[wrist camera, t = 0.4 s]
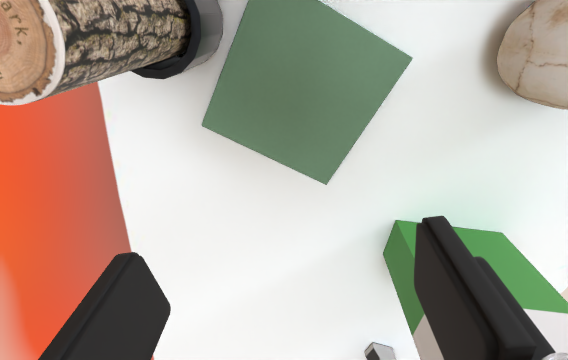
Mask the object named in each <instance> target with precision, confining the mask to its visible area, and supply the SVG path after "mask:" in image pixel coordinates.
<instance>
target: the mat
mask: <svg viewBox="0 0 568 360" xmlns="http://www.w3.org/2000/svg"><path fill="white" fill-rule="evenodd" d="M412 59H413V58H412V57H410V56H409V55H407V54H405V53H404V52H402V51H400V50H399V49H397V48H395V47H394V46H392V45H391V44H389V43H387V42H386V41H384V40H382V39H381V38H379V37H377V36H376V35H374V34H373V33H371V32H369V31H368V30H366V29H364V28H363V27H361V26H359V25H358V24H356V23H355V22H353V21H351V20H350V19H348V18H346V17H345V16H343V15H341V14H340V13H338V12H336V11H335V10H333V9H332V8H330V7H328V6H327V5H325V4H323V3H322V2H320V1H318V0H249V1H248V4H247V6H246V9H245V12H244V14H243V17H242V20H241V22H240V25H239V27H238V30H237V33H236V35H235V38H234V41H233V43H232V46H231V49H230V51H229V54H228V57H227V59H226V62H225V64H224V67H223V70H222V72H221V75H220V78H219V80H218V83H217V86H216V88H215V91H214V93H213V96H212V99H211V101H210V104H209V107H208V109H207V112H206V115H205V117H204V120H203V123H202V126H203V127H205V128H208V129H210V130H212V131H214V132H216V133H218V134H220V135H222V136H224V137H227V138H229V139H231V140H233V141H235V142H237V143H239V144H241V145H243V146H246V147H248V148H250V149H252V150H254V151H256V152H258V153H260V154H262V155H265V156H267V157H269V158H271V159H273V160H275V161H277V162H279V163H281V164H283V165H286V166H288V167H290V168H292V169H294V170H296V171H298V172H300V173H302V174H305V175H307V176H309V177H311V178H313V179H315V180H317V181H319V182H321V183H324V184H326V185H327V183H328V182H329V180H330V179H331V177H332V176H333V174H334V173H335V171H336V170H337V169H338V167H339V166H340V164H341V163H342V161H343V160H344V158H345V157H346V155H347V154H348V152H349V151H350V149H351V148H352V147H353V145H354V144H355V142H356V141H357V139H358V138H359V136H360V135H361V133H362V132H363V130H364V129H365V127H366V126H367V125H368V123H369V122H370V120H371V119H372V117H373V116H374V114H375V113H376V111H377V110H378V108H379V107H380V106H381V104H382V103H383V101H384V100H385V98H386V97H387V95H388V94H389V92H390V91H391V89H392V88H393V86H394V85H395V84H396V82H397V81H398V79H399V78H400V76H401V75H402V73H403V72H404V70H405V69H406V67H407V66H408V64H409V63H410V62H411V60H412Z"/></svg>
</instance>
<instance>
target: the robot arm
mask: <svg viewBox="0 0 568 360" xmlns="http://www.w3.org/2000/svg"><path fill="white" fill-rule="evenodd" d="M414 288H415V292H416V294H417V297H418V299H419V301H420V304H421V306H422V308H423V311H424V313H425V316H426V318H427V320H428V323H429V325H430V328H431V330H432V332H433V335H434V337H435V339H436V342H437V344H438V347H439V349H440V351H441V354H442V356H443V358H444V360H568V353H562V352H560V353H556V352H555V350H554V349H553V348H552V346H551V345H550V344H549V342H548V341H547V340H546V338H545V337H544V336H543V334H542V333H541V332H540V330H539V329H538V328H537V327H536V325H535V324H534V323H533V321H532V320H531V319H530V317H529V316H528V315H527V313H526V312H525V311H524V309H523V308H522V307H521V305H520V304H519V303H518V301H517V300H516V299H515V298H514V296H513V295H512V294H511V292H510V291H509V290H508V288H507V287H506V286H505V284H504V283H503V282H502V280H501V279H500V278H499V276H498V275H497V274H496V272H495V271H494V270H493V268H492V267H491V266H490V265H489V263H488V262H487V261H486V260H485V259H484V258H482V257H481V256H476V257H473V256H472V254H471V253H470V251H469V250H468V249H467V247H466V246H465V244H464V243H463V242H462V240H461V239H460V237H459V236H458V235H457V233H456V232H455V230H454V229H453V228H452V226H451V225H450V223H449V222H448V221H447V219H446V218H445V217H444V216H436V217H428V218H423V219H422V223H418V224H417V225H416V242H415V263H414ZM170 310H171V308H170V304H169V302H168V300H167V298H166V297H165V295H164V293H163V292H162V290H161V288H160V286H159V285H158V283H157V281H156V279H155V278H154V276H153V274H152V273H151V271H150V269H149V267H148V266H147V264H146V262H145V261H144V259H143V257H142V256H139V255H138V254H137V253H135V252H131V253H123V254H118V255H116V256H115V257H114V259H113V260H112V261H111V262H110V264H109V265H108V266H107V268H106V269H105V271H104V272H103V273H102V275H101V276H100V277H99V278H98V280H97V281H96V283H95V284H94V285H93V287H92V288H91V289H90V291H89V292H88V293H87V295H86V296H85V297H84V299H83V300H82V301H81V303H80V304H79V305H78V307H77V308H76V310H75V311H74V312H73V313H72V315H71V316H70V317H69V319H68V320H67V321H66V323H65V324H64V325H63V327H62V328H61V330H60V331H59V332H58V334H57V335H56V336H55V338H54V339H53V340H52V342H51V343H50V344H49V346H48V347H47V348H46V350H45V351H44V352H43V354H42V355H41V357H40V358H39V359H38V360H151V358H152V355H153V353H154V351H155V348H156V346H157V343H158V341H159V339H160V336H161V334H162V332H163V329H164V327H165V324H166V322H167V320H168V317H169V315H170Z"/></svg>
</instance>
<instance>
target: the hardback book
mask: <svg viewBox="0 0 568 360" xmlns="http://www.w3.org/2000/svg"><path fill="white" fill-rule="evenodd" d="M417 224H418V223H416V222H407V221H399V220H396V221H395V224H394V226H393V229H392V231H391V234H390V237H389V239H388V242H387V244H386V247H385V250H384V252H383V255H384V258H385V261H386V264H387V267H388V269H389V272H390V275H391V278H392V281H393V284H394V286H395V289H396V292H397V295H398V298H399V300H400V303H401V306H402V309H403V312H404V314H405V317H406V320H407V323H408V326H409V328H410V331H411V334H412V337H413V340H414V342H415V345H416V348H417V351H418V354H419V356H420V359H421V360H444V358H443V356H442V354H441V351H440V349H439V347H438V344H437V342H436V339H435V337H434V335H433V332H432V330H431V328H430V325H429V323H428V320H427V318H426V316H425V313H424V311H423V308H422V306H421V304H420V301H419V299H418V297H417V294H416V292H415V288H414V263H415V242H416V225H417ZM452 228H453V229H454V230H455V232H456V233H457V235H458V236H459V237H460V239H461V240H462V242H463V243H464V244H465V246H466V247H467V249H468V250H469V251H470V253H471V254H472V256H473V257H476V256H481V257H482V258H484V259H485V260H486V261H487V262H488V263H489V265H490V266H491V267H492V268H493V270H494V271H495V272H496V274H497V275H498V276H499V278H500V279H501V280H502V282H503V283H504V284H505V286H506V287H507V288H508V290H509V291H510V292H511V294H512V295H513V296H514V298H515V299H516V300H517V301H518V303H519V304H520V305H521V307H522V308H523V309H524V311H525V312H526V313H527V315H528V316H529V317H530V319H531V320H532V321H533V323H534V324H535V325H536V327H537V328H538V329H539V330H540V332H541V333H542V334H543V336H544V337H545V338H546V340H547V341H548V342H549V344H550V345H551V346H552V348H553V349H554V350H555V352H556V353H560V352H562V353H568V302H567V301H566V300H565V299H563V297H562V296H561V295H560V294H559V293H558V292H557V291H556V290H555V289H554V288H553V286H552V285H551V284H550V283H549V282H548V281H547V280H546V279H545V278H544V277H543V276H542V275H541V274H540V273H539V272H538V271H537V269H536V268H535V267H534V266H533V265H532V264H531V263H530V262H529V261H528V260H527V259H526V258H525V257H524V256H523V255H522V253H521V252H520V251H519V250H518V249H517V248H516V247H515V246H514V245H513V244H512V243H511V242H510V241H509V240H508V239H507V238H506V236H505V235H504V234H503V233H499V232H490V231H482V230H474V229H465V228H457V227H452Z"/></svg>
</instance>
